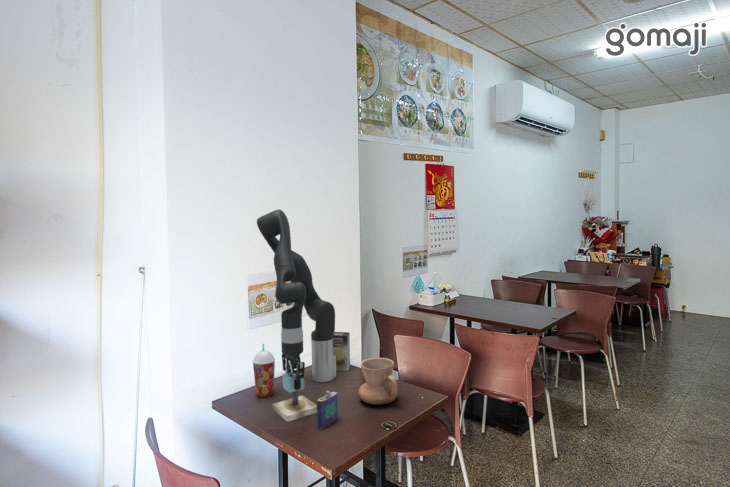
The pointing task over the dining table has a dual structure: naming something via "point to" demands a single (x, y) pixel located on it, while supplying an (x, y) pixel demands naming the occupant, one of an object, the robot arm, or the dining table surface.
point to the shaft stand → (295, 407)
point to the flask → (327, 409)
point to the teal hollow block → (290, 382)
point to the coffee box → (342, 350)
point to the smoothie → (264, 373)
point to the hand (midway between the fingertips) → (293, 386)
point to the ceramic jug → (378, 381)
